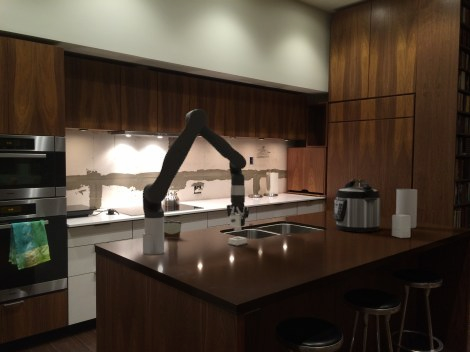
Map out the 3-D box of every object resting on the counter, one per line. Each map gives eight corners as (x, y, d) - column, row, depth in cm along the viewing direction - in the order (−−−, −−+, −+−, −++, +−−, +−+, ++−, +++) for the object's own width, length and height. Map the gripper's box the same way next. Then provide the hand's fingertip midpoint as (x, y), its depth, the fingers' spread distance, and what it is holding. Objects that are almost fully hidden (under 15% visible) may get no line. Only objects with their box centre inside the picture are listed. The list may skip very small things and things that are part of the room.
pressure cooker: (336, 224, 269) (336, 178, 268) (379, 226, 260) (380, 179, 258) (331, 231, 241) (332, 180, 240) (380, 235, 232) (381, 182, 230)
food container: (184, 236, 226) (184, 219, 226) (182, 238, 220) (182, 220, 220) (163, 235, 228) (163, 218, 227) (160, 237, 221) (160, 220, 221)
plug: (236, 233, 201) (236, 216, 200) (227, 231, 205) (227, 215, 204) (245, 230, 207) (245, 214, 206) (237, 229, 210) (237, 213, 210)
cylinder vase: (391, 225, 264) (392, 189, 263) (406, 224, 268) (407, 188, 266) (404, 229, 252) (405, 190, 251) (420, 228, 256) (421, 190, 255)
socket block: (237, 246, 202) (237, 240, 201) (228, 244, 205) (228, 238, 205) (246, 243, 208) (246, 237, 207) (238, 241, 211) (238, 236, 211)
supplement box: (410, 237, 226) (411, 215, 225) (400, 238, 223) (401, 216, 223) (401, 234, 233) (401, 213, 232) (391, 235, 230) (391, 214, 230)
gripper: (222, 193, 207) (222, 224, 208) (243, 195, 198) (243, 227, 199) (232, 192, 213) (232, 222, 214) (252, 194, 203) (252, 225, 204)
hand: (237, 225), depth 206 cm, fingers closed on plug, 6 cm apart
